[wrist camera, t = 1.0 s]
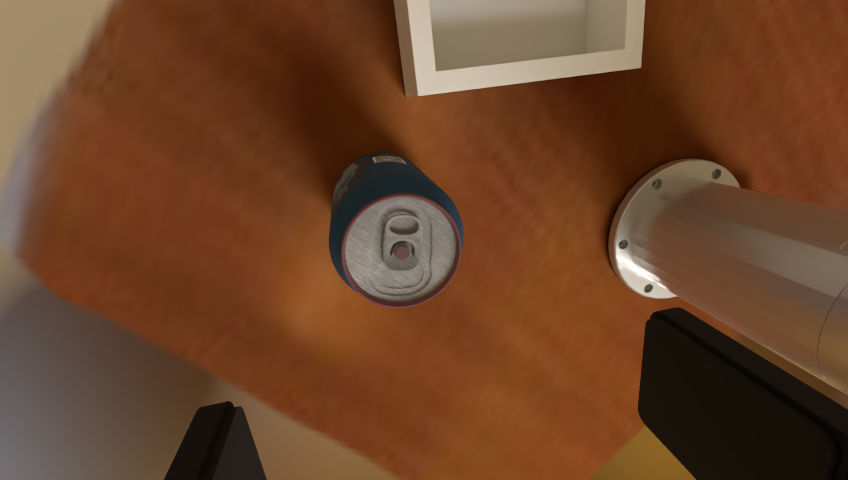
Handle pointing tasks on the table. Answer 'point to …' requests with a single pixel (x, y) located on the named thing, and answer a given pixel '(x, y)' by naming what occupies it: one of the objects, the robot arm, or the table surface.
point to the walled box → (513, 41)
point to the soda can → (393, 232)
